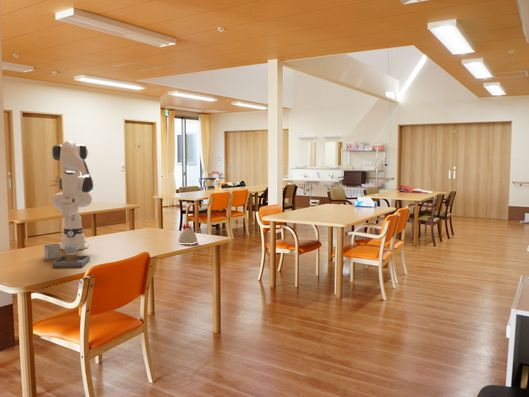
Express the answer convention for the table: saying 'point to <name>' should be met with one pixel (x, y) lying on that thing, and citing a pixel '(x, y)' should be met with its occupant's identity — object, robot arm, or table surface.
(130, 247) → the table surface
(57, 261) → the tray
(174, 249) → the table surface
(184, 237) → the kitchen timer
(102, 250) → the table surface
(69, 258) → the walnut block
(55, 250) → the medicine box
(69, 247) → the grey block
